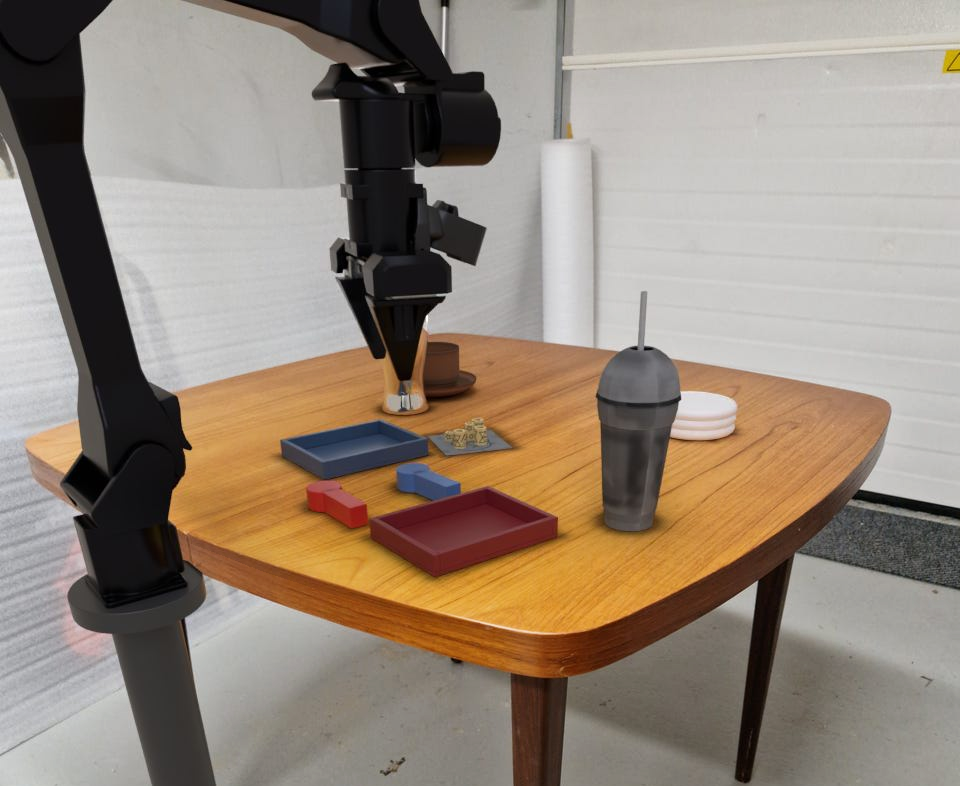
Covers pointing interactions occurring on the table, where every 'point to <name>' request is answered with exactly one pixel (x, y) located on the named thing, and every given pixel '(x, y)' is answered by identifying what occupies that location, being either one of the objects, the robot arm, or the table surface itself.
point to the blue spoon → (425, 482)
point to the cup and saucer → (445, 371)
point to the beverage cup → (635, 430)
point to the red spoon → (336, 503)
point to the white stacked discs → (704, 416)
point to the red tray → (462, 529)
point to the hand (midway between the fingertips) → (391, 369)
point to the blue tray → (353, 448)
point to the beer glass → (406, 383)
